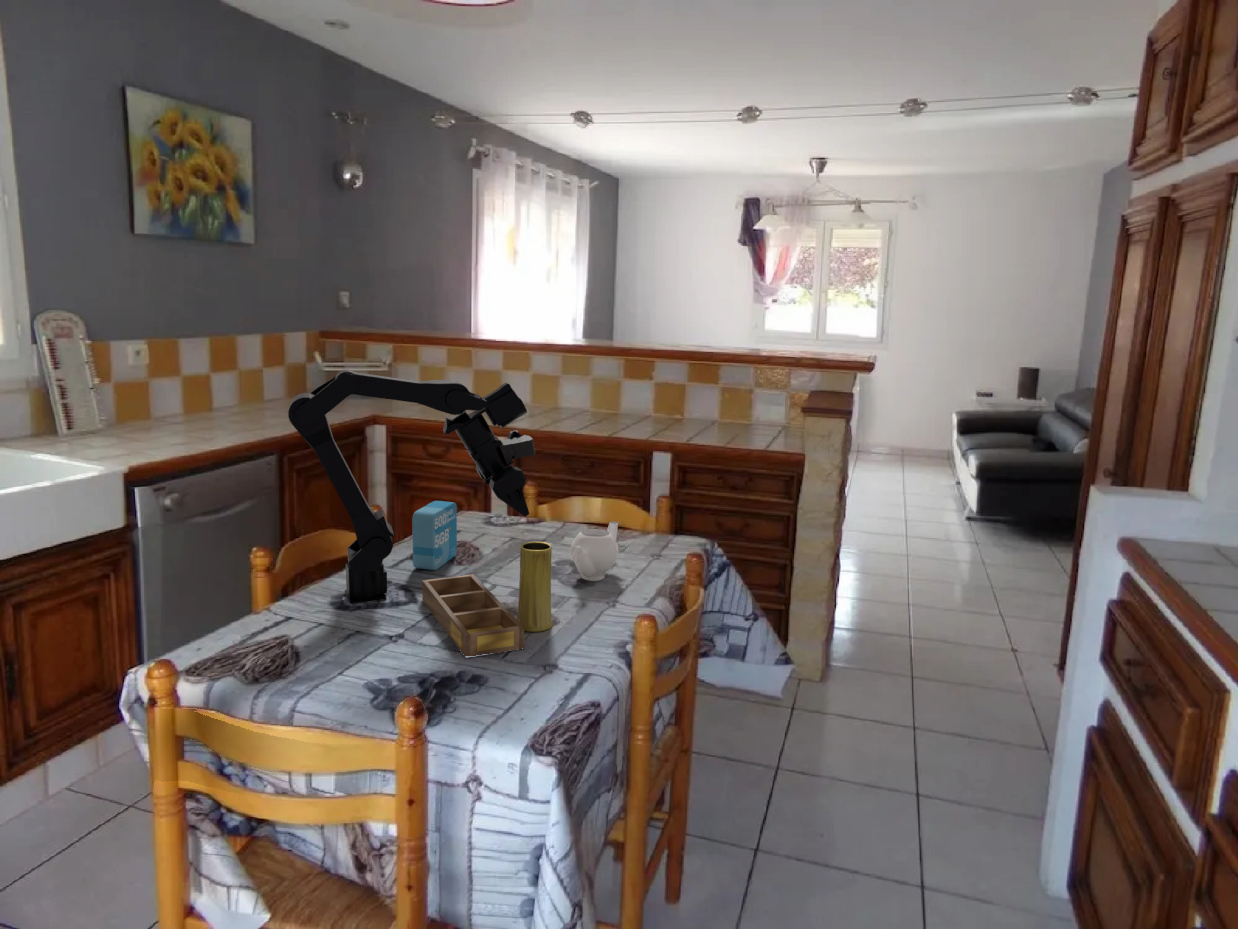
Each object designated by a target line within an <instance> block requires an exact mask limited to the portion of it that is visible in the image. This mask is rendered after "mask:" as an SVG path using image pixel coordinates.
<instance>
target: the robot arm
mask: <svg viewBox="0 0 1238 929" xmlns="http://www.w3.org/2000/svg"><path fill="white" fill-rule="evenodd" d="M351 395H355V396H361V397H362V396H363V397H370V398H378V399H384V400H391V401H392V400H393V401H401V402H406V403H407V402H408V403H416V404H419V405H422V406H424V407H425V406H426V407H428V408H430V409H433V410H436V411H439V412H443V413H445V414H449V415H453V416H455V417H453V418H450V417H445V418H444V426H443V428H442V431H443V433H444V434H446V435H450V434H451V433H454V431H455V432H456V434H457V436H458V437H459V439H460V440H461V442H462V444H463V445H464V448H466V450H467V453H468V454H469V456H470V457H471V459H472V460H473V461H474V463H475V470H476V472H477V473H478V475H479V476H480V478H481V479H482V480H483V481H484V483H485V484H487V485H488V486H489V488H490V489H491V490H492V492H493V494H494V495H495V496H496V497H497V499H498V500H500V501H501V502H502V503H503V502H504V503H505V504H506V505H508V506H509V507H510V508H512V509H513V510H514V511H516V512H517V513H518V514H520V515H521V516H523V517H528V516H529V515H530V511H529V508H528V507H529V506H528V505H527V501H526V498H525V495H524V491H523V489H524V486H525V485H526V483H527V477H526V476H525V474H524V472H523V471H522V470H521V469H520V468H519V467H518V466H514V465H513V464H514V463H515V461H514V460H516V459H521V458H525V457H528V458H530V457H534V456H535V455H536V448H535V443H534V439H533V438H532V436H530V435H526V434H523V435H522V434H521V433H520V432H519V431H518V430H516V429H515V430H512V431H509V433H508V436H507V438H505V439H504V440H501V439H499V438H498V437H497V436H496V435H495V433H494V432H493V430H492V428H491V427H490V425H489V424H488V422H487V421H486V418H487V420H489V422H490V424H491V425H492V427H496V426H497V427H498V428H499V427H500V428H501V429H503V428H504V427H506V426H508V425H510V424H511V423H513V422H515V421H516V420H518V419H520V418H521V417H523V416H524V415H526V414H527V413H528V410H527V407H526V406H525V404H524V402H523V400H522V399H521V398H520V397H519V396H518V394H517V393H516V391H515V390H514V389H513V388H512V386H511V384H510V383H508V382H504V383H503V384H501V385H500V386H499V387H497V389H494V390H493V391H491V392H490V393H488V394H486V395H484V396H481V395H480V394H479V393H473V392H471V391H469V389H468V388H467V387H466V386H465V385H464V384H462V382H459V381H458V380H456V379H431V380H411V379H405V378H398V377H397V378H396V377H390V376H383V375H378V374H377V375H376V374H371V373H370V374H369V373H363V372H356V371H353V370H350V369H343V370H340V371H339V372H338V373H337V374H336V375H334V376H333V377H332V378H330V379H329V380H327V381H325V382H324V383H322V384H320V385H319V386H317V387H316V388H315V389H313V390H312V391H311V392H301V393H298V394H297V395H295V396H294V397H293V398H292V400H290V403H289V406H288V416H287V417H288V419H289V422H290V424H291V425H292V426H293V428H294V429H295V430H296V431H297V433H299V435H300V437H302V438H303V440H305V442H306V443H307V444H308V445H309V446H310V447H311V449H312V450H313V451H314V453H315V454H316V456H317V457H318V459H319V462H320V463H321V465H322V467H323V469H324V471H325V472H326V475H327V477H328V479H329V480H330V482H331V484H332V485H333V488H334V489H335V491H336V493H337V495H338V497H339V499H340V500H341V502H342V504H343V506H344V508H345V510H346V511H347V514H348V516H349V517H350V520H351V523H352V527H353V530H354V533H355V538H356V539H355V540H354V541H353V542H352V543H351V544H350V545H349V546H348V547H347V548H346V550H347V552H346V553H347V560H348V561H347V563H345V582H346V583H345V586H346V587H345V588H346V589H344V594H345V596H346V599H347V600H348V602H349V604H350V605H351V604H353V605H354V604H361V603H368V602H369V603H370V602H376V601H377V602H378V601H385V600H387V593H388V572H387V570H386V569H385V568H384V567H385V565H384V563H383V561H384V559H386V558H387V557H389V556H390V555H391V553H392V551H393V548H394V541H393V539H392V538H394V537H395V535H394V531H393V527H392V525H391V524H390V523H389V522H388V521H387V520H386V518H385V513H384V510H383V508H379V509H378V510H377V511H376V510H374V509H373V508H372V506H370V505H369V503H368V502H367V500H366V498H365V495H364V494H363V492H362V490H361V488H360V486H359V484H358V482H357V480H356V479H355V476H354V474H353V473H352V471H351V469H350V467H349V465H348V464H347V461H346V460H345V457H344V456H343V454H342V452H341V450H340V449H339V446H338V445H337V443H336V441H335V439H334V436H333V432H332V429H331V426H330V422H329V419H328V416H327V414H328V413H329V412H332V411H333V410H334V409H335V407H337V406H338V405H340V403H342V402H343V401H344V400H345V399H347V397H349V396H351ZM466 411H471V412H470V413H467V412H466ZM483 414H485V417H486V418H485V417H484V416H483Z"/></svg>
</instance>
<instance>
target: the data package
mask: <svg viewBox="0 0 1238 929" xmlns="http://www.w3.org/2000/svg"><path fill="white" fill-rule="evenodd" d="M457 510H458V506H457V504H456V503H455V502H451V501H444V500H433V501H432V502H429V503H428V504H426V505H425V506H423V507H420V508H419V509H417V510H415V511H414V513H413V514H412V519H411V521H412V522H411V523H412V524H411V525H412V526H411V527H412V528H411V529H412V564H413V565H412V566H413V568H415V569H420V570H429V571H436V570H438V569H439V568H441V567H442V566H443V565H445V564H446V563H447V562H449V561H450V560H452V559H453V558H454V557H455V556H456V554H457V552H458V551H457V548H458V540H457V539H458V534H457V532H458V529H457V527H458V522H457V521H458V520H457V519H458V518H457V516H458V514H457V513H458V511H457Z"/></svg>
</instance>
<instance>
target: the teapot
mask: <svg viewBox="0 0 1238 929" xmlns="http://www.w3.org/2000/svg"><path fill="white" fill-rule="evenodd" d="M618 527H619V522H618V521H610V522H609V524H608V526H607V529H606V530H605V529H600V528H588V529H583V530H581V531H579V533H577V535H576V536H575V538H574V539H573V540H572V542H571V544H570V555H571V559H570V561H571V562H573V563H574V564H575V566H576V569H577V571H578V572H579V574H581V579H583V580H585V581H589V582H598V581H602V579H603V580H604V579H605V578H606V573H607V572H608V571H609V570H611V568H612V567H613V565H614V564H615V562H616V561H617V559H618V555H619V549H620V548H619V545H618V543H617V536H618V535H617V534H618Z"/></svg>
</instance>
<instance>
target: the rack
mask: <svg viewBox="0 0 1238 929" xmlns="http://www.w3.org/2000/svg"><path fill="white" fill-rule="evenodd" d="M421 583H422V588H421V589H422V593H421V594H422V597H421V600H422V602H423V603H424V604H425V606H426V607H427V608H428V610H429V611H430V612H431V614H432V615H433V616H434V618H435V619H436V620H437V622H438V623H439V624H440V626H441V627H442V629H443V630H444V632H445V633H446V635H447V636H448V637H449V638H450V639H451V641H452V642H453V644H454V645H455V644H456V645H455V646H456V648H457V647H458V648H457V649H458V650H459V651H460V650H461V652H462V653H463V654H464V656H476V655H482V654H490V653H498V652H504V653H506V652H505V651H509V650H517V649H522V648H524V649H525V631H524V626H523V625H522V624H521V623H520V622H519V621H518V618H516V617H515V616H514V615H513V613H511V612H510V611H509V610H508V608H507V607H506V606H504V605H503V603H502V602H500V600H499V599H498V598H497V597H496V596H495V595H494V594H493V593H492V592H491V591H490V589H488V588H487V587H486V585H484V584H483V583H482V581H481V580H480V579H478V577H476V575H475V574H473V573H471V574H465V575H456V576H455V575H454V576H448V577H441V578H440V577H439V578H432V579H423V580H422V582H421ZM517 651H518V650H517ZM461 652H460V653H461ZM462 653H461V654H462ZM463 654H462V655H463ZM498 654H499V653H498ZM464 656H463V657H464Z"/></svg>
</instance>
